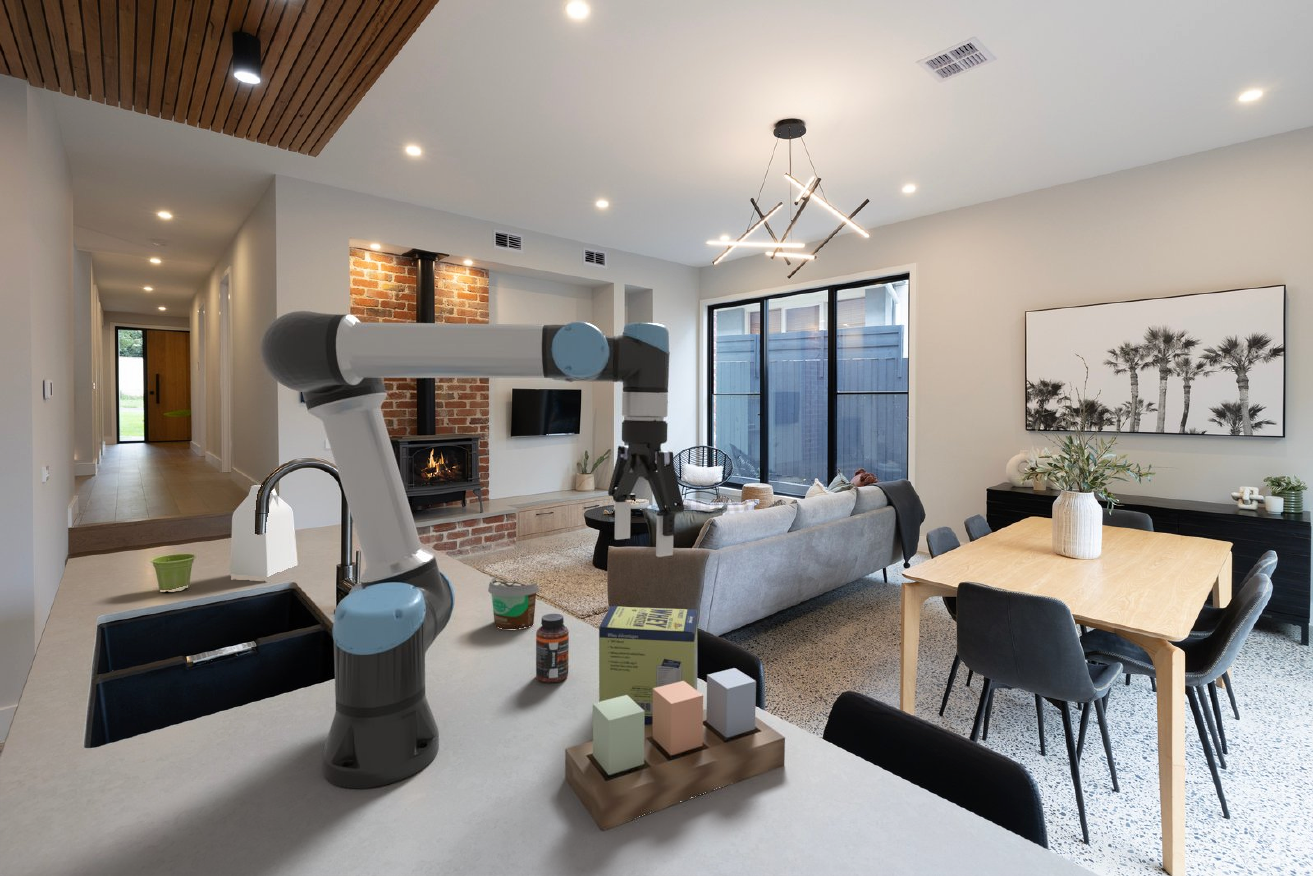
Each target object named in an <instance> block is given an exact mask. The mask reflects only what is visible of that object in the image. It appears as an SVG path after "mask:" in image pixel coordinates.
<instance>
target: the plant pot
mask: <svg viewBox="0 0 1313 876" xmlns="http://www.w3.org/2000/svg"><path fill="white" fill-rule="evenodd" d="M195 558H197V554H193V553H177V554H166V555H161V556H157V557H154V558H152V559H150V562H151V563H152V566H153V568H154V571H155V574H156V579H157V584H158V589H160V590H172V589H176V588H179V587H183V586H187V585H188V584H189V585H190V581H191V573H192V567H193V564H194V560H195ZM160 590H159V591H160Z"/></svg>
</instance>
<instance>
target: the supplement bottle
mask: <svg viewBox="0 0 1313 876" xmlns="http://www.w3.org/2000/svg"><path fill="white" fill-rule="evenodd" d="M564 623H565V622H564V616H563V614H560V613H547V614H544V615H542V616H541V621H540V624H541V626H540V627H538V628H537V630H536V634H535V655H536V656H535V673H536V674H535V677H536V679H537V680H539V681H540V682H543V683H547V684H548V683H549V684H552V683H558V682H562V681H563V680H565V679H567V678H568V676H569V660H570V659H569V652H570V651H569V647H570V646H569V645H570V643H569V641H570V640H569V639H570V636H569V635H570V633H569V629H568V627H567V626H565V624H564Z"/></svg>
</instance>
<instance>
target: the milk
mask: <svg viewBox="0 0 1313 876" xmlns="http://www.w3.org/2000/svg"><path fill="white" fill-rule="evenodd" d="M260 487H261V485H258V484H257V485H251V487H250V490H249V493H248V495H247V496H246V497H245V499H244V500H243V501H242V502H241V503H240V504H239V505H238V507H237V508H236V509H235V510H234V511H233V513H232V518H231V541H230V542H231V543H230V545H231V546H230V567H229V568H230V572H229V574H235V575H248V576H260V577H269V576H271V575H273V574H275V573H277V572H282V571H284V570H286V569H288V568H292V567H294V566H297V565H299V564H298V553H297V541H296V532H295V531H296V530H295V519H294V511H293V509H292V507H291V506H290V505H289V504H288V503H287V502H286V501H285V500H283V499H282V498H281V497H280V496H279V495H278V494H277V491H276V488H274V489H273V490H272V491H271V493H270V499H269V513H268V517H267V522H266V533H264V534H263V535H261V536H259V535H257V534H255V510H256V500H257V494H258V490H259V489H260Z"/></svg>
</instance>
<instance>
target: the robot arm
mask: <svg viewBox="0 0 1313 876" xmlns="http://www.w3.org/2000/svg"><path fill="white" fill-rule="evenodd" d="M669 334H670V333H669V330H668V328H667V327H666V326H665V325H664V324H659V323H654V322H632V323H627V324H625V325H624V327H623V332H622V335H620V334H618V335H605V334H604V333H603V332H602V331H601V329H599V328H598V327H597V326H595V325H593V324H591V323H588V322H584V321H573V322H570V323H567V324H533V323H532V324H531V323H529V324H527V323H526V324H524V323H521V324H520V323H516V324H515V323H513V324H512V323H446V322H443V323H441V322H440V323H439V322H438V323H437V322H436V323H435V322H434V323H433V322H431V323H430V322H427V323H425V322H363V321H362V322H361V321H360V320H359V319H358V318H357V316H355V315H353V314H336V313H333V314H332V313H322V312H315V311H309V310H301V311H300V310H298V311H292V312H288V313H286V314H282V315H280V316H279V317H278V318H276V319H274V321H272V323H270V325H268V326H267V328H266V330H265V331H264V332H263V336H262V338H261V342H260V356H261V359H262V362H263V365H264V367H265V368H266V370H267V373H268V374H270V376H271V377H272V378H273V379H274V381H276V382H277V383H279V384H281V385H282V386H284V387H286V388H288V389H290V390H293V391H296V392H300V393H301V392H302V396H303V400H304V403H305V405H306V409H307V412H308V414H310V415H312V416H314V417H316V418H317V419H318V420H320V421H322V424H323V426H324V430H325V435H326V437H327V441H328V444H329V447H330V450H331V453H332V457H333V460H334V463H335V466H336V470H337V472H338V473H337V474H338V476H339V479H340V483H341V487H342V489H343V492H344V496H345V498H346V503H347V505H348V509H349V513H350V516H351V518H352V522H353V525H354V529H355V532H356V535H357V537H358V538H357V539H358V541H359V545H360V548H361V551H362V555H363V558H364V561H365V565H366V566H365V569H364V571H363V572H362V574H361V576H360V578H359V582H360V585H361V588H362V589H360V588H359V589H357V590H355V591H352V592H351V593H349V594H348V595H346V596H345V597H343V598H342V599H341V600H340V602H338V605H336V608H335V611H334V617H333V626H332V630H331V631H332V632H331V633H332V639H333V660H334V662H333V663H334V690H335V691H334V692H335V711H334V716H333V719H332V723H331V725H330V729H329V732H328V735H327V738H326V740H325V744H324V747H323V750H322V756H321V760H322V761H321V763H322V774H323V775H322V776H323V777H324V778H325V779H326V780H327V781H328V782H329V783H331V784H333V785H335V786H337V787H342V788H348V789H369V788H377V787H382V786H385V785H390V784H394V783H396V782H399V781H402V780H405V779H407V778H408V777H411V776H414V775H415V774H416V773H418V772H420V771H422V770H423V769H425V768H426V767H427V766H428V765H429V764H431V763H432V761H433V760H434V759H435V758H436V756H437V755H438V752H439V749H440V738H439V737H440V733H439V727H438V725H437V723H436V720H435V716H434V715H433V712H432V709H431V707H430V704H429V701H428V699H427V695H426V652H427V651H428V649H429V648H430V647H431V646H432V644H433V643H434V642H435V640H436V639H437V638H438V636H439V635H440V634H441V633H442V632H443V631H444V629H445V628H446V626H447V624H449V622H450V619H451V617H452V613H453V610H454V606H455V597H456V596H455V590H454V587H453V584H452V582H451V581H450V578H449V577H448V576H447V575H446V574H445V573H444V572H442V571H440V570H439V566H438V562H437V559H436V555H435V554H434V553H432V552H431V551H429V550H426V549H424V548H423V547H422V543H421V539H420V537H419V534H418V530H417V527H416V522H415V519H414V516H413V513H412V510H411V506H410V503H409V500H408V496H407V493H406V489H405V485H404V482H403V479H402V477H401V473H400V469H399V466H398V462H397V459H396V456H395V452H394V448H393V445H392V442H391V439H390V436H389V432H388V429H387V425H386V422H385V419H384V415H383V412H382V409H381V408H382V404H383V403H384V402H385V400H386V398H387V396H388V393H387V391H386V387H385V383H384V379H390V378H391V379H392V378H393V379H394V378H395V379H399V378H402V379H403V378H405V379H410V378H411V379H424V378H425V379H430V378H431V379H437V378H438V379H439V378H440V379H445V378H446V379H449V378H450V379H453V378H454V379H460V378H461V379H464V378H465V379H466V378H467V379H487V378H488V379H552V380H554V381H561V382H562V381H563V382H569V383H573V382H613V383H622V394H621V395H622V397H621V398H622V401H621V405H622V406H621V415H622V416H623V417H624V418H625V419H624V420H623V421H622V422H621V441H622V442H623V443H625V444H628V445H618V447H617V456H616V459H615V460H616V461H615V465H614V469H613V473H612V476H611V479H610V483H609V487H608V491H607V494H608V496H609V497H612V500H613V501H614V540H616V541H617V540H625V539H631V514H632V513H631V512H632V511H631V506H632V503H631V500H632V499H631V496H630V495H631V493H632V491H633V490H634V488H635V485H636V483H637V482H638V479H639V477H640V476H641V477H643V478H644V480H646V481H647V482H648V484H649V487H650V490H651V493H652V495H653V497H654V501H655V503H656V506H657V508H658V510H659V511H658V512H657V513H656V537H655V539H656V540H655V541H656V542H655V543H656V544H655V556H656V557H657V558H662V557H668V556H673V555H674V535H675V523H676V522H675V517H676V515H677V514H679V513H684V511H685V506H684V503H683V498H682V493H681V489H680V486H679V482H678V477H677V473H676V468H675V463H674V462H675V460H674V453H673V451H672V450H662V444H666V443H667V442H668V422H667V420H664V418H667V417H668V411H669V410H668V407H669V406H668V403H669V397H668V396H669V374H670V371H669V370H670V356H671V355H670V354H671V353H670V341H669V340H670V338H669V337H670V336H669ZM383 378H384V379H383Z"/></svg>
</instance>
